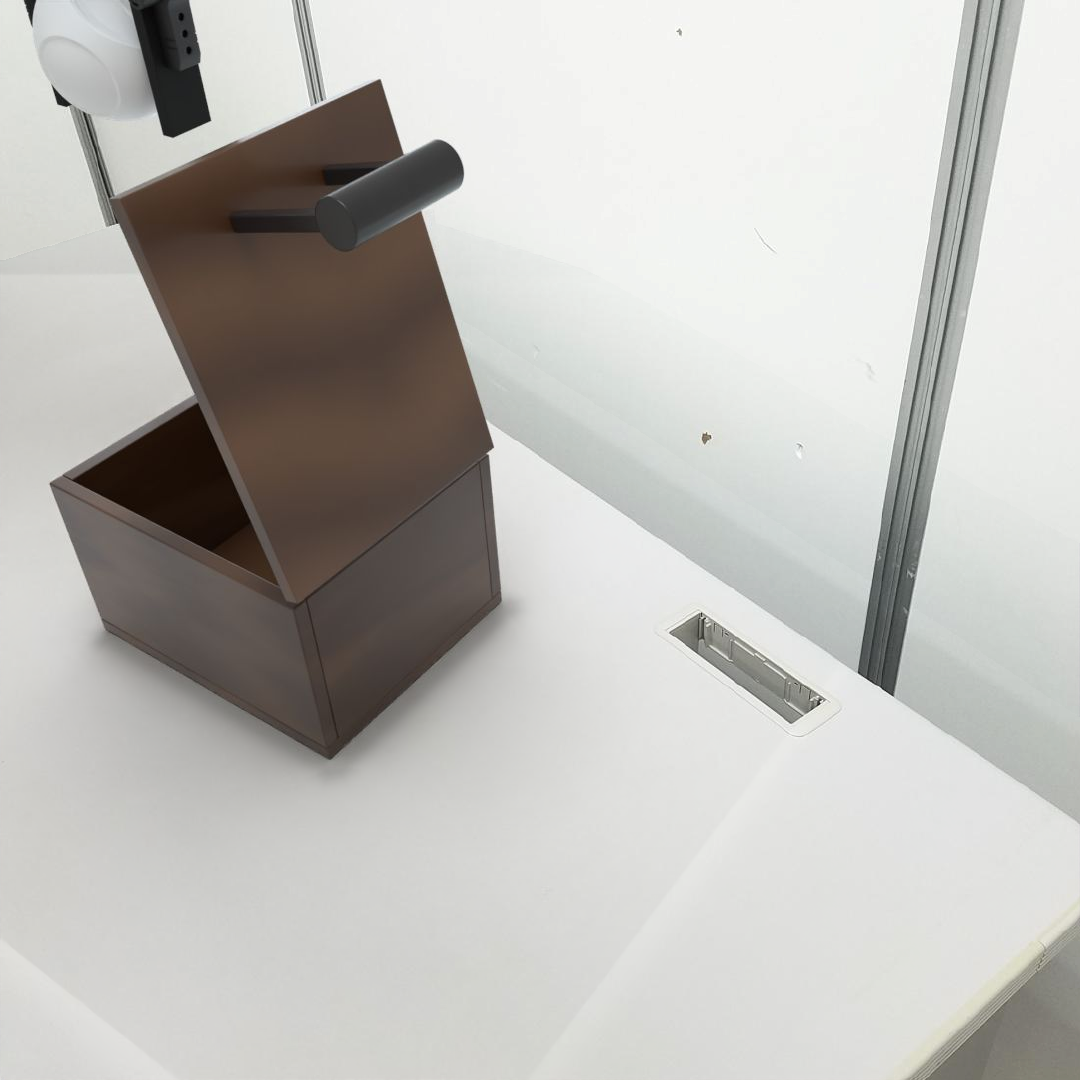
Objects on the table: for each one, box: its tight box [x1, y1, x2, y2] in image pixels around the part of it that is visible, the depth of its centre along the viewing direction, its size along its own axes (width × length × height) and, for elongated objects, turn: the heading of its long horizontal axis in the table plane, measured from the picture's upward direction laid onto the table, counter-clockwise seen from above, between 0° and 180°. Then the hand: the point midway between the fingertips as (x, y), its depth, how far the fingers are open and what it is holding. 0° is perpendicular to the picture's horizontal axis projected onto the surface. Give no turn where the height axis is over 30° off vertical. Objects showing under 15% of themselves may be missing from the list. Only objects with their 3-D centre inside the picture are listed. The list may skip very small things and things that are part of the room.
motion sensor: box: [32, 0, 158, 122], centre depth 65 cm, size 8×8×8 cm
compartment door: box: [107, 78, 495, 603], centre depth 50 cm, size 18×14×8 cm
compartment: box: [48, 393, 503, 760], centre depth 64 cm, size 17×14×10 cm
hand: (132, 112), depth 68 cm, fingers closed on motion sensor, 8 cm apart
